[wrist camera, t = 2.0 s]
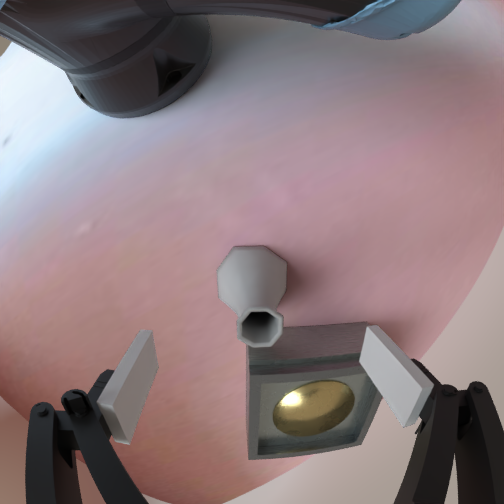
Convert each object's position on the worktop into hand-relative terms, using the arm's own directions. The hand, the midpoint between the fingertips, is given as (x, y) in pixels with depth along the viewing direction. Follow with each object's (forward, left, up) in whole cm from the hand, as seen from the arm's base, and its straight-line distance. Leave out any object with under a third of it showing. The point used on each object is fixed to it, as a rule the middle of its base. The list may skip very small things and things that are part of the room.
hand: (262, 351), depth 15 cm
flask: (0, 0, -13) cm, 13 cm away
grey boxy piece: (+13, +7, -12) cm, 19 cm away
